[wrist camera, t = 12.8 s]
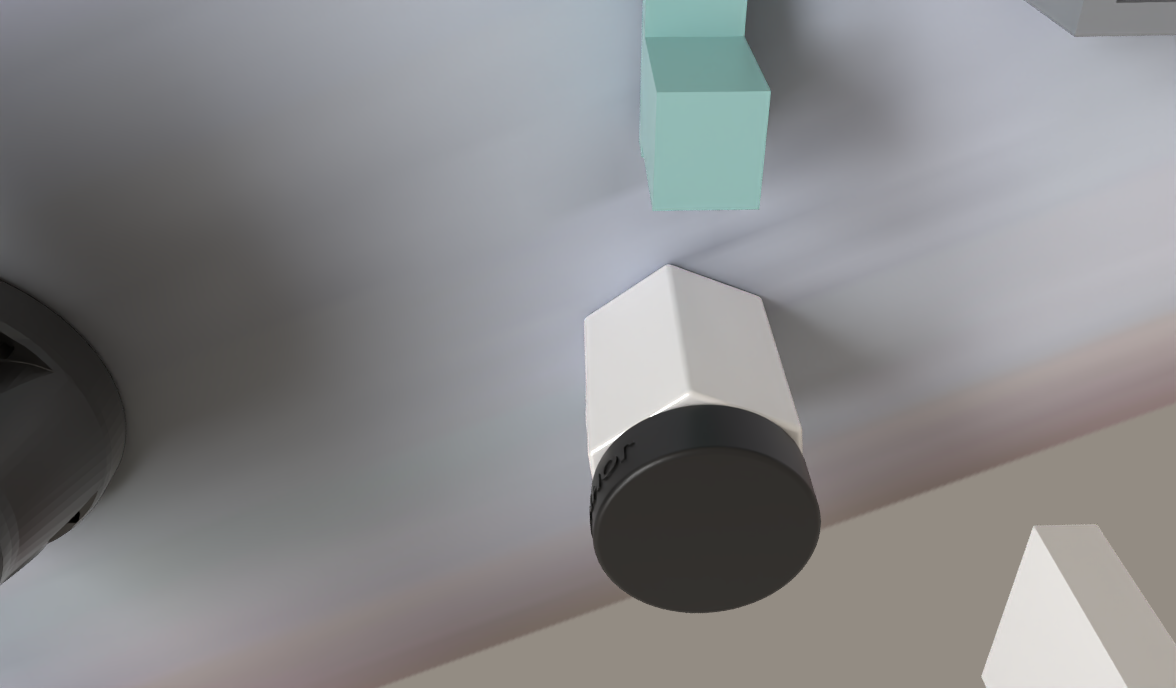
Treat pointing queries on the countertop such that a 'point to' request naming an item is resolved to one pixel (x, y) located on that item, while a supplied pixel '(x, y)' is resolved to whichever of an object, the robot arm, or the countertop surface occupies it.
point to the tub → (1111, 16)
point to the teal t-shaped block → (701, 106)
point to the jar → (694, 447)
